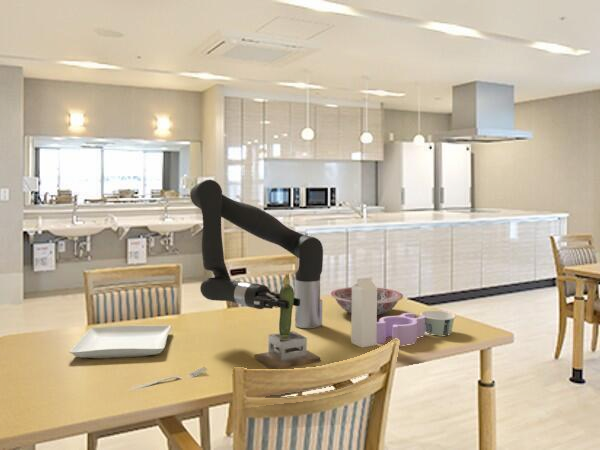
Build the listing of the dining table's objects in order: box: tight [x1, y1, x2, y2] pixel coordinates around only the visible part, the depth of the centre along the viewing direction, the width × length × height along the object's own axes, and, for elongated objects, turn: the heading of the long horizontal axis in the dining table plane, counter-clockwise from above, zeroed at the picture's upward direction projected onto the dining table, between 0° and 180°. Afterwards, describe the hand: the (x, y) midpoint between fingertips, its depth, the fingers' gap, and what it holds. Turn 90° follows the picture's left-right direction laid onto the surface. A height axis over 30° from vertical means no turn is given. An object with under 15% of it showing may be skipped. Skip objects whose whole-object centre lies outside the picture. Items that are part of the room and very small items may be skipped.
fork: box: [129, 366, 208, 391], centre depth 138 cm, size 3×24×2 cm, turn 125°
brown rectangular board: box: [254, 346, 322, 370], centre depth 156 cm, size 16×12×1 cm
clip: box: [376, 312, 426, 345], centre depth 177 cm, size 20×12×7 cm, turn 136°
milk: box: [350, 276, 378, 348], centre depth 170 cm, size 6×6×22 cm
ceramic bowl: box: [330, 286, 404, 316], centre depth 211 cm, size 29×29×8 cm
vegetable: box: [278, 272, 295, 340], centre depth 155 cm, size 4×4×20 cm
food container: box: [420, 310, 457, 335], centre depth 184 cm, size 12×12×7 cm
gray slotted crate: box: [268, 330, 308, 363], centre depth 156 cm, size 8×8×6 cm
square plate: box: [69, 324, 173, 359], centre depth 168 cm, size 27×27×4 cm
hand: (293, 303), depth 153 cm, fingers closed on vegetable, 4 cm apart
